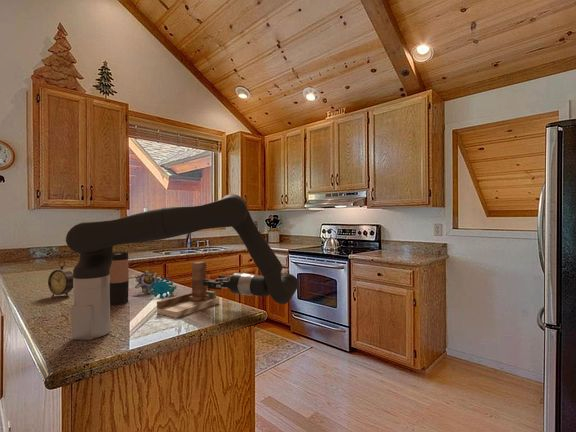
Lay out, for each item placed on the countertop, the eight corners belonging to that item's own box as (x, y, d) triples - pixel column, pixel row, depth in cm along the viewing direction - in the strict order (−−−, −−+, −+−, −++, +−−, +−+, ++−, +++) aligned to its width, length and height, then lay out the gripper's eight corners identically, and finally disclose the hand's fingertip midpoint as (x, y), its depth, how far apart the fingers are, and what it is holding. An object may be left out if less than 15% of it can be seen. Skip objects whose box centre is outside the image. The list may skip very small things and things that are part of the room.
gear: (148, 295, 133) (151, 276, 140) (147, 303, 137) (150, 283, 144) (176, 296, 137) (177, 277, 144) (174, 304, 141) (175, 285, 148)
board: (176, 318, 109) (176, 305, 109) (157, 313, 114) (156, 301, 114) (218, 303, 127) (218, 292, 127) (200, 300, 132) (200, 289, 132)
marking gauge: (200, 302, 120) (200, 264, 120) (189, 300, 123) (188, 263, 123) (211, 299, 125) (210, 262, 125) (199, 297, 128) (199, 261, 128)
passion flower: (149, 305, 145) (134, 286, 139) (141, 296, 153) (126, 278, 147) (170, 288, 151) (156, 270, 144) (161, 280, 158) (148, 263, 152)
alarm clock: (47, 296, 140) (46, 260, 140) (59, 293, 146) (58, 258, 146) (66, 298, 137) (65, 260, 137) (77, 295, 142) (77, 259, 142)
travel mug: (103, 303, 128) (102, 253, 128) (121, 299, 135) (120, 251, 135) (115, 306, 124) (114, 254, 124) (133, 301, 131) (132, 252, 131)
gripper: (256, 270, 120) (223, 267, 128) (232, 276, 108) (197, 273, 116) (257, 290, 120) (223, 286, 128) (232, 299, 108) (197, 294, 116)
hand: (211, 280), depth 122 cm, fingers open, 8 cm apart
